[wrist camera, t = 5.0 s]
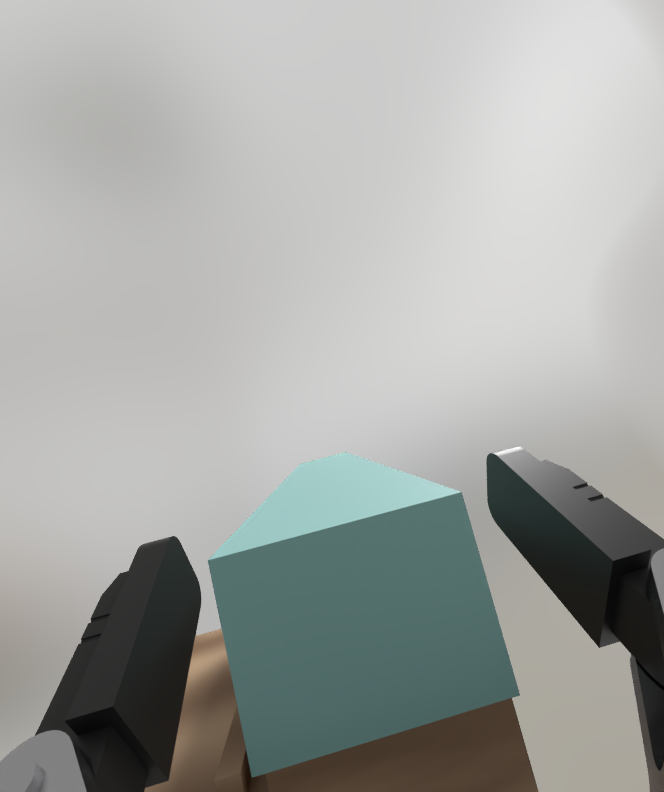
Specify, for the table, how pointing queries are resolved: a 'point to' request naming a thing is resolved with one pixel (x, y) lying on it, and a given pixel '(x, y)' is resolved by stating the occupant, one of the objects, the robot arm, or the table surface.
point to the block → (355, 612)
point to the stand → (347, 769)
